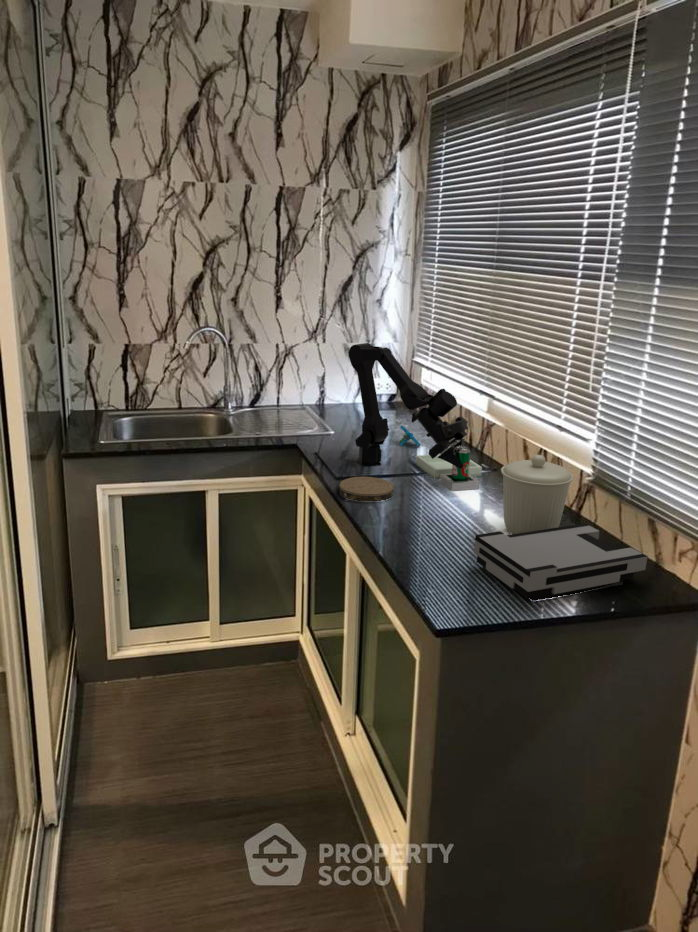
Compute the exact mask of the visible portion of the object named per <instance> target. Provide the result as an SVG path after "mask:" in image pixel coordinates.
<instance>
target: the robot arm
mask: <svg viewBox="0 0 698 932" xmlns="http://www.w3.org/2000/svg"><path fill="white" fill-rule="evenodd" d="M347 355H348V358H349V361H350V364H351V365H350V366H352V368H353V369H354V371H356V374H357V379H358V384H359V391H360V397H361V401H362V402H361V403H362V408H363V409H362V410H363V414H364V417H363V418H364V419H363V421H362V424H361V434H360V435H359V436H358V437H356V439H355V440H354V441H355V446H356V447H359V449H358V451H359V452H358V458H357V459H356V461H357V462H358V464H360V465H361V466H362V467H372V465H374V466H382V449H381V445H383V444H384V443H385V441H386V439H387V437H389V431H390V428H389V423H388V422H389V421H388V418H383V417H382V415H381V414H380V407H379V402H378V397H377V395H378V394H377V391H376V384H375V378H374V372H373V368H374V367H375V362H376V361H377V362H378V363H379V364H380V366H381V367H382V368H383V370H384V371H385V373H386V374H387V375H388V376H389V378H390V379H391V381H392V382H393V383H394V385H395V386H396V387H397V389H398V391H399V396H400V399H401V401H402V404H403V405H404V406H405V407H406V409H408V410H409V411H410V410H411V411H414V410H417V409H419V411H414V412H413V413H411V423H415V422H416V421H417V422H419V423H420V425H422V427H423V429H424V430H425V431H426V436H427V438H431V439H432V440H433V441H434V443H435V444H434V446H432V447H430V449H428V455H430V457H431V458H432V459H433V458H435V457H436V456H437V455H438V454H441V455H440V456H439V457H438V458H440V459H442V460H445V461H447V462H449V463H451V464H453V465H454V466H456V467H458V468H460V469H461V468H463V464H462V463H461V461H460V459H459V458H458V456H457V454H456V453H455V447H456V446H464V442H465V440H466V439H465V437H466V436H468V433H467V432H466V430H468V429H469V427H468V425H467V424H468V423H469V422H468V420H466V418H464V417H463V416H462V415H461V416H458V417H455V420H454V421H453V422H451V423H449V422H448V420H447V421H446V420H444V421H443V419H442V418H444V417H445V416H446V415H447V414H449V413H450V412H451V411H452V410H454V408H455V407H457V405H458V402H457V398H456V397H455V396H454V395H453V394H452V393H450V392H449V391H447V390H446V389H445V388H440V389H439V390H438V391H437V392H436V393H435V394H434V395H432V394H430V393H428V391H427V390H426V389H425V388H423V386H422V385H421V384H419V383H417V382H416V381H414V380H413V379H412V378H411V377H410V375H408V373H407V371H405V369H404V368H403V367H402V365H401V364H400V363H399V361H398V360H397V359H396V358H395V356H394V355H393V353H392V350H391V348H389V347H385V346H384V347H382V346H377V345H376V346H373V345H372V344H371V343H369V342H365V343H364V342H363V343H357V344H352V345H351V346H350V348H349V349H348V354H347ZM427 406H428V407H427Z"/></svg>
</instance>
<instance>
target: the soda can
mask: <svg viewBox="0 0 698 932" xmlns="http://www.w3.org/2000/svg"><path fill="white" fill-rule="evenodd" d="M455 453H456V454H457V456H458V458H459V459H460V461H461V463H462V464H463V468H461V469H460V468H458V467H456V466H454V465H452V477H451V479H452V480H453V481H454V482H457V481H468V474H469V463H470V460H471V450H470V447H469V446H465V445H463V446H456V447H455Z"/></svg>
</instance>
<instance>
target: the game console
mask: <svg viewBox="0 0 698 932" xmlns="http://www.w3.org/2000/svg"><path fill="white" fill-rule="evenodd" d="M599 538H600V530H599V529H598V528H597V529H596V528H594V527H593V526H592V525H589V524H587V523H578V524H573V525H572V524H571V525H565V526H559V527H558V528H551V529H544V530H538V531H531V532H524V533H518V534H512V533H510V534H506V533H504V532H502V531H494V532H487V533H480V534H475V538H474V548H473V549H474V550H473V554H475V555H476V557H477V558H476V563H478V564H479V565H480V566H482V567H483V568H485V570H487V572H489V573H490V574H492V575H493V576H494V577H495V578H496V579H498V580H500V581H501V582H503V583H504V584H505V585H507V586H508V587H509V588H510V589H512V590H515V591H516V592H517V591H518V592H517V593H519V594H520V595H522V596H523V597H524V598H525V599H527V598H530V599H532V600H538V599H545V598H552V597H558V596H563V595H570V594H575V593H580V592H584V591H588V590H592V589H596V588H600V587H604V586H607V585H611V584H614V583H618V582H623V581H624V582H625V580H628V579H633V578H634V573H635V572H636V573H637V572H641V571H646V569H647V563H648V556H647V555H646V554H644V553H642V552H640V551H638V550H636V549H634V548H632V547H625V548H619V549H616V548H614V547H613V546H610V545H609V544H606V543H605V542H604V541H601V540H599Z"/></svg>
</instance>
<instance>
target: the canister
mask: <svg viewBox="0 0 698 932" xmlns="http://www.w3.org/2000/svg"><path fill="white" fill-rule="evenodd" d="M500 473H501V474H502V476H503V477H502V489H503V490H502V493H503V494H502V495H503V496H502V497H503V498H502V499H503V522H504V525H505V526H504V527H505V528H506V531H508V533H510V534H518V533H524V532H531V531H538V530H544V529H551V528H558V527H560V524H561V520H562V517H563V512H564V509H565V505H566V500H567V496H568V494H569V493H568V492H569V488H570V485H571V483H572V482H573V481H574V479H575V478H574V477H575V476H574V475H573V473H571V472H570V471H569V470H568V469H566V468H565V467H564V466H561V465H559V464H556V463H553V462H550V461H549V462H548V461H546V457H545V456H544V455H541V454H535V455H533V456H532V457H531V460H530V459H523V460H516V461H512V462H509V463H507V464H505V465H503V466H502V467H501V468H500Z"/></svg>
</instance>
